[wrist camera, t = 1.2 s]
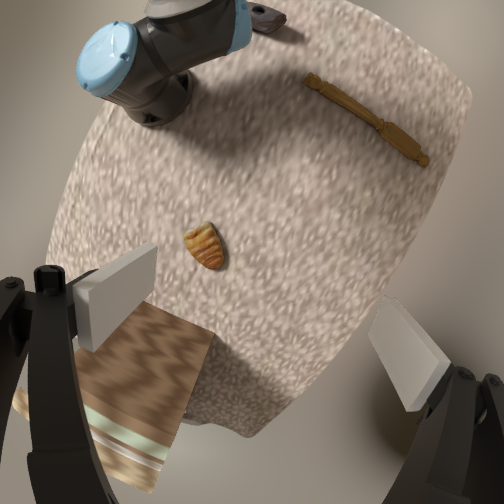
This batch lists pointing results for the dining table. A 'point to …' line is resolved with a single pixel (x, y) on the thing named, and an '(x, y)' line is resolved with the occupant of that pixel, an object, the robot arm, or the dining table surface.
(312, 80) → the wooden spindle
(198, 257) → the pastry
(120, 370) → the brown wavy patterned box
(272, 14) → the perforated stone tool
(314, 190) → the dining table surface
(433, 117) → the dining table surface
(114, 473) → the beech bar
